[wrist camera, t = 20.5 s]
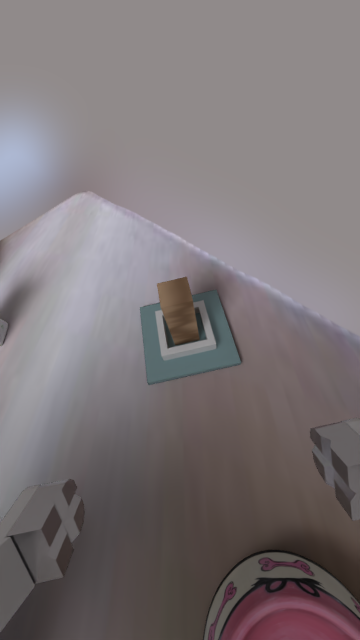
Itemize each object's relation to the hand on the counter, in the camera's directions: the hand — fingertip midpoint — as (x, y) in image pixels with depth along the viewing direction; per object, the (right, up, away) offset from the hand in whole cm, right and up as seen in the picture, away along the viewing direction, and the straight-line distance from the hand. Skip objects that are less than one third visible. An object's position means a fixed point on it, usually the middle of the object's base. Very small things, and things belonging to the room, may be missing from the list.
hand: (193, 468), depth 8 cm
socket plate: (+1, +2, +36) cm, 36 cm away
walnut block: (+1, +3, +35) cm, 35 cm away
